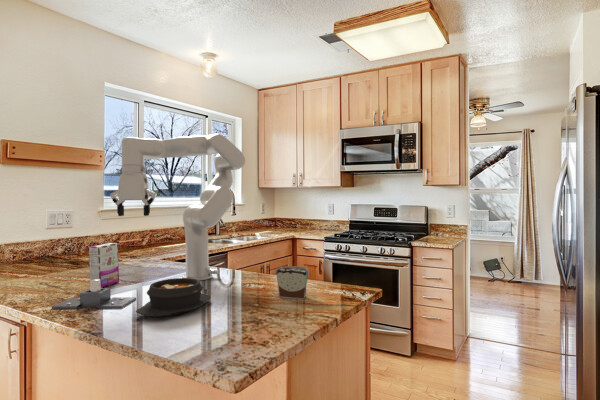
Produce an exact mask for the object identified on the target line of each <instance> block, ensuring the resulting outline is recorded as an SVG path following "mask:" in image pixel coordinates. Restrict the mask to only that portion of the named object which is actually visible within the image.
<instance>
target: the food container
mask: <svg viewBox="0 0 600 400" xmlns="http://www.w3.org/2000/svg"><path fill="white" fill-rule="evenodd" d="M309 272H310V271H309V269H308V268H307V267H304V266H298V265H297V266H295V265H293V266H292V265H290V266H279V267H276V269H275V273H274V274H275V275H276V279H277V289H278V297H279V298H283V299H284V298H286V299H296V300H297V299H298V300H306V293H307V284H308V283H307V282H308V277H309V276H310V273H309Z"/></svg>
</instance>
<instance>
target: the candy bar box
mask: <svg viewBox="0 0 600 400" xmlns="http://www.w3.org/2000/svg"><path fill="white" fill-rule="evenodd" d="M118 245H119V244H118V242H107V243H103V244H98V245H93V246H92V245H91V246H88V259H89V263H88V264H89V281H90V280H94V279H100V284H101V288H103V287H104V288H107V287H110V286H113V285H115V284H117V283H119V282H120V271H119V269H120V268H119V267H120V266H119V246H118ZM106 286H107V287H106Z"/></svg>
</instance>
